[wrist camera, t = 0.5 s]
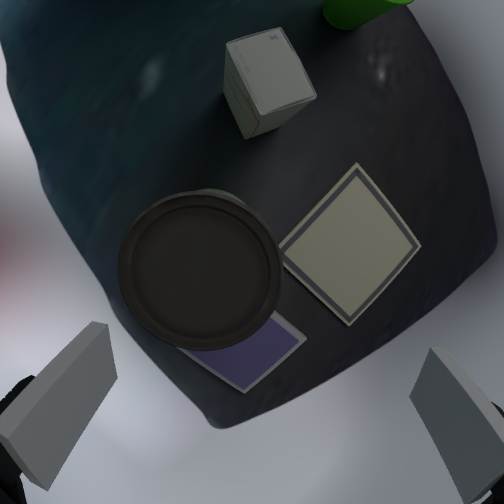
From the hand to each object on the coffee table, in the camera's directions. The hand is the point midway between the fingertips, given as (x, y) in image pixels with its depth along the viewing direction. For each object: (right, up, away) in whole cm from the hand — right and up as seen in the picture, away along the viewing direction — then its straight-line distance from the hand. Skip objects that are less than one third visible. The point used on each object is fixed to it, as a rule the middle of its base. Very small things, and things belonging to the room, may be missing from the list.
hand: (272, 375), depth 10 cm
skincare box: (-1, +20, +18) cm, 27 cm away
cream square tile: (+11, +5, +22) cm, 25 cm away
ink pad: (-2, -6, +24) cm, 24 cm away
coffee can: (-5, +6, +21) cm, 22 cm away
